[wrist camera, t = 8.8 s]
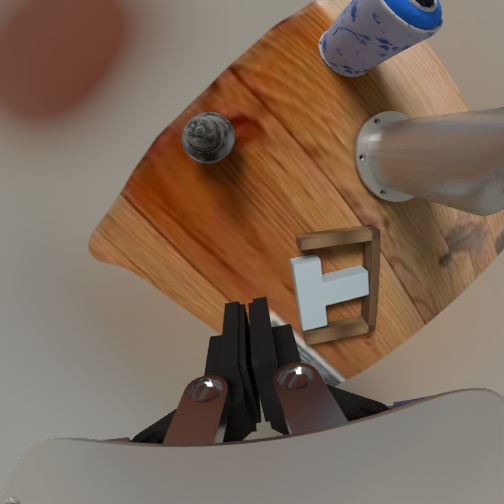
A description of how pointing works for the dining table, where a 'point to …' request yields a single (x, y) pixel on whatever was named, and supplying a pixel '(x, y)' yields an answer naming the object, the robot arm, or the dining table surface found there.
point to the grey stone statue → (208, 137)
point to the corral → (370, 263)
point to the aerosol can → (376, 32)
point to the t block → (323, 288)
